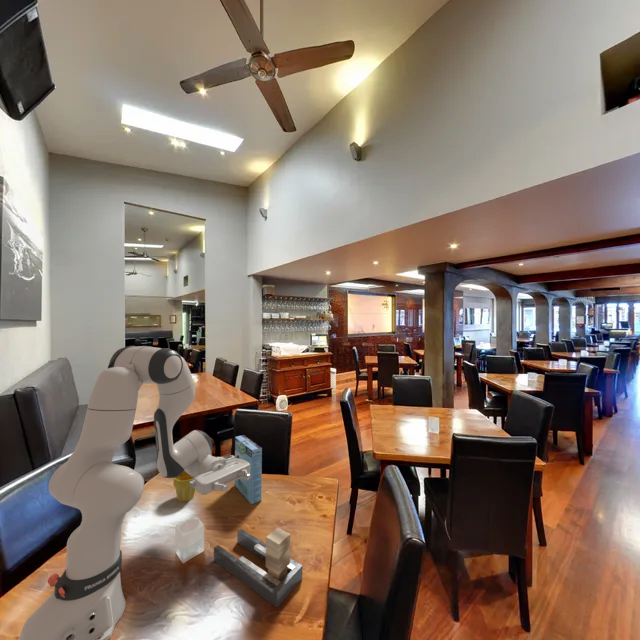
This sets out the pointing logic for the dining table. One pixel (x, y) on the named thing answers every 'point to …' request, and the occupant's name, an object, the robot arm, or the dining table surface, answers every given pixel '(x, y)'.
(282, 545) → the birch keyhole peg
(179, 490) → the plant pot
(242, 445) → the gum box
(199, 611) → the dining table surface
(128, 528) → the dining table surface
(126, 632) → the dining table surface
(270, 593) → the grey slotted frame
